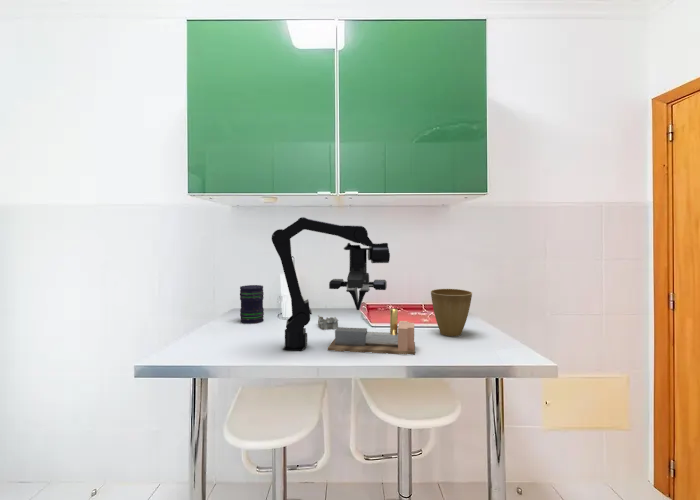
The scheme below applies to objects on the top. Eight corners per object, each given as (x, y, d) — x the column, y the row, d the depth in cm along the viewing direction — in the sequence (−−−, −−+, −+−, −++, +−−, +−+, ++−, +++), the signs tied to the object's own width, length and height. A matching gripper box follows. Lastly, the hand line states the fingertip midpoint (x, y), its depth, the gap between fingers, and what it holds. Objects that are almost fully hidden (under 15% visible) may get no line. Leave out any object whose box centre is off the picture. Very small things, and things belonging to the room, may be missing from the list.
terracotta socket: (397, 350, 125) (398, 328, 125) (399, 341, 135) (399, 321, 135) (414, 351, 124) (414, 328, 124) (414, 342, 134) (414, 321, 134)
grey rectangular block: (335, 345, 131) (335, 330, 131) (337, 341, 136) (337, 327, 136) (365, 346, 130) (365, 331, 129) (367, 342, 134) (367, 328, 134)
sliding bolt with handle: (361, 342, 131) (361, 309, 130) (362, 340, 134) (362, 307, 133) (404, 344, 128) (404, 310, 128) (404, 342, 131) (404, 308, 131)
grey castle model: (317, 324, 166) (317, 314, 166) (335, 323, 168) (335, 314, 168) (320, 330, 156) (320, 320, 156) (339, 329, 157) (339, 319, 157)
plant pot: (422, 331, 153) (423, 289, 152) (455, 328, 159) (455, 287, 158) (445, 341, 139) (445, 295, 139) (480, 337, 145) (480, 293, 144)
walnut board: (327, 350, 128) (327, 347, 128) (334, 341, 139) (334, 338, 139) (414, 354, 124) (414, 351, 124) (414, 344, 135) (414, 342, 135)
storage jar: (235, 322, 169) (234, 287, 168) (251, 318, 178) (250, 284, 177) (253, 324, 164) (252, 288, 164) (268, 320, 173) (268, 285, 172)
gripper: (325, 265, 127) (325, 314, 127) (384, 265, 124) (384, 315, 124) (332, 262, 138) (332, 307, 138) (386, 263, 135) (386, 309, 135)
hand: (358, 310), depth 134 cm, fingers closed
